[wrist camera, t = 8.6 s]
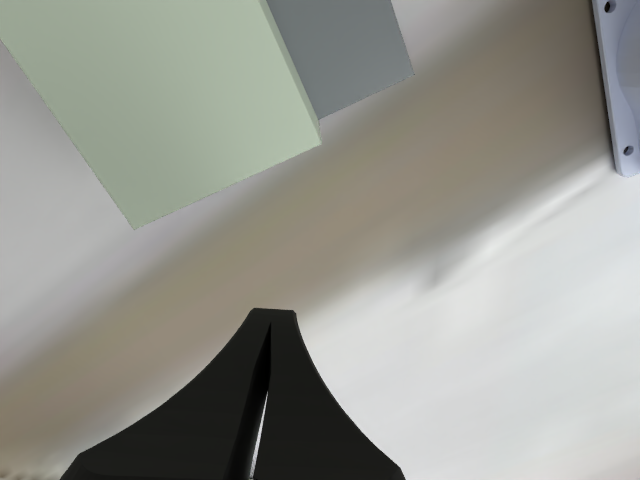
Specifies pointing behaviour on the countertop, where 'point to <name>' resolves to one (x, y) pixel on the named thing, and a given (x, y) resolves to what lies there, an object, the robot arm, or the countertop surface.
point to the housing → (164, 92)
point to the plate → (342, 48)
